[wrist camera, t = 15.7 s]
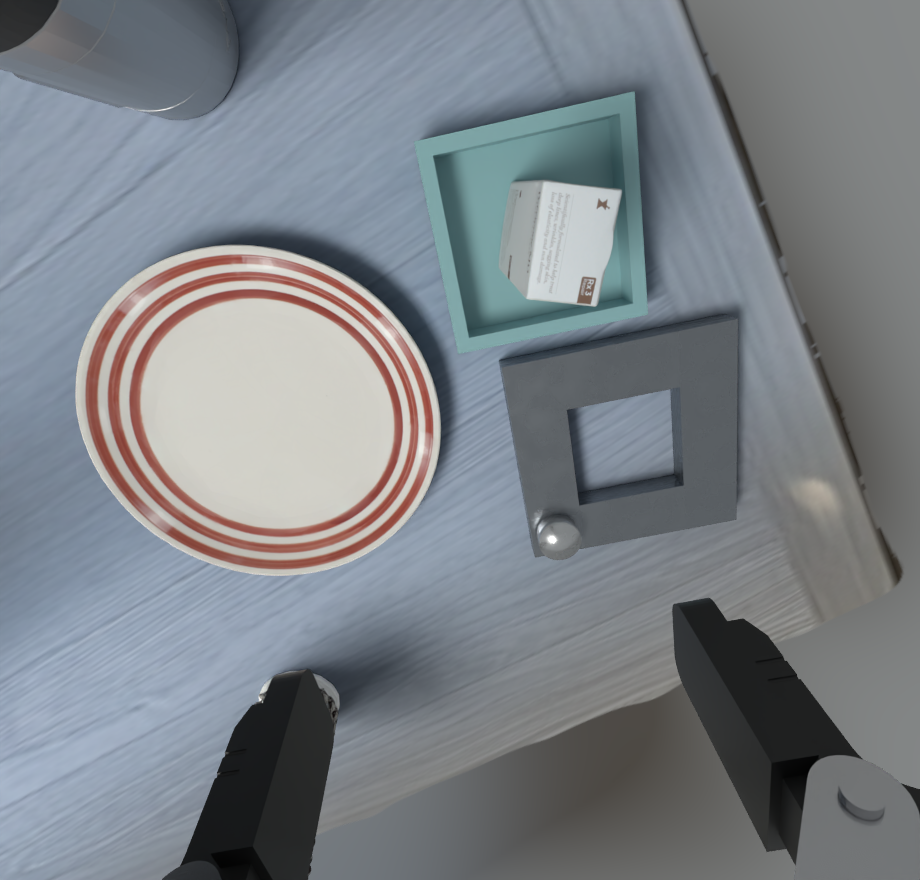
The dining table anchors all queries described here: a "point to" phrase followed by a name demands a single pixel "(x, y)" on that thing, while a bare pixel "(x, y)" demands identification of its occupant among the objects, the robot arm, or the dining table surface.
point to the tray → (483, 208)
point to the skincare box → (558, 239)
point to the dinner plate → (258, 410)
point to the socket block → (616, 377)
